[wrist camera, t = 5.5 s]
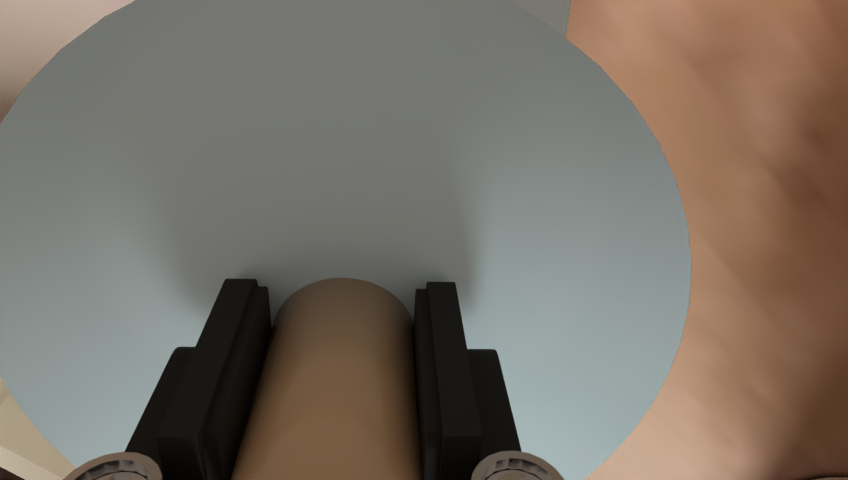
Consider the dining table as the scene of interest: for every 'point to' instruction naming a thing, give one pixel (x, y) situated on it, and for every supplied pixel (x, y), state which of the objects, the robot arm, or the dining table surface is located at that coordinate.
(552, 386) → the lid
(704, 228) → the dining table surface
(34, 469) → the bowl
